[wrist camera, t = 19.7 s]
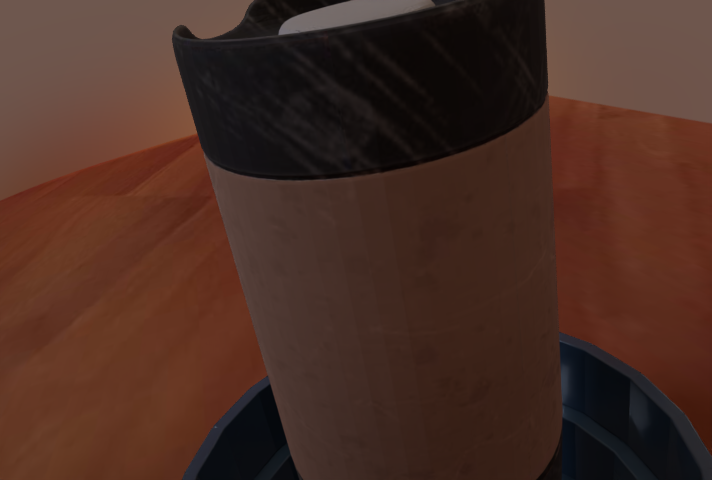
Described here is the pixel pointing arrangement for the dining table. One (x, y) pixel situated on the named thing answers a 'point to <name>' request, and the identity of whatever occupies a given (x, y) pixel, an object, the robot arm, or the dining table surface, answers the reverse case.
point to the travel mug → (392, 228)
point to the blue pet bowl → (579, 431)
